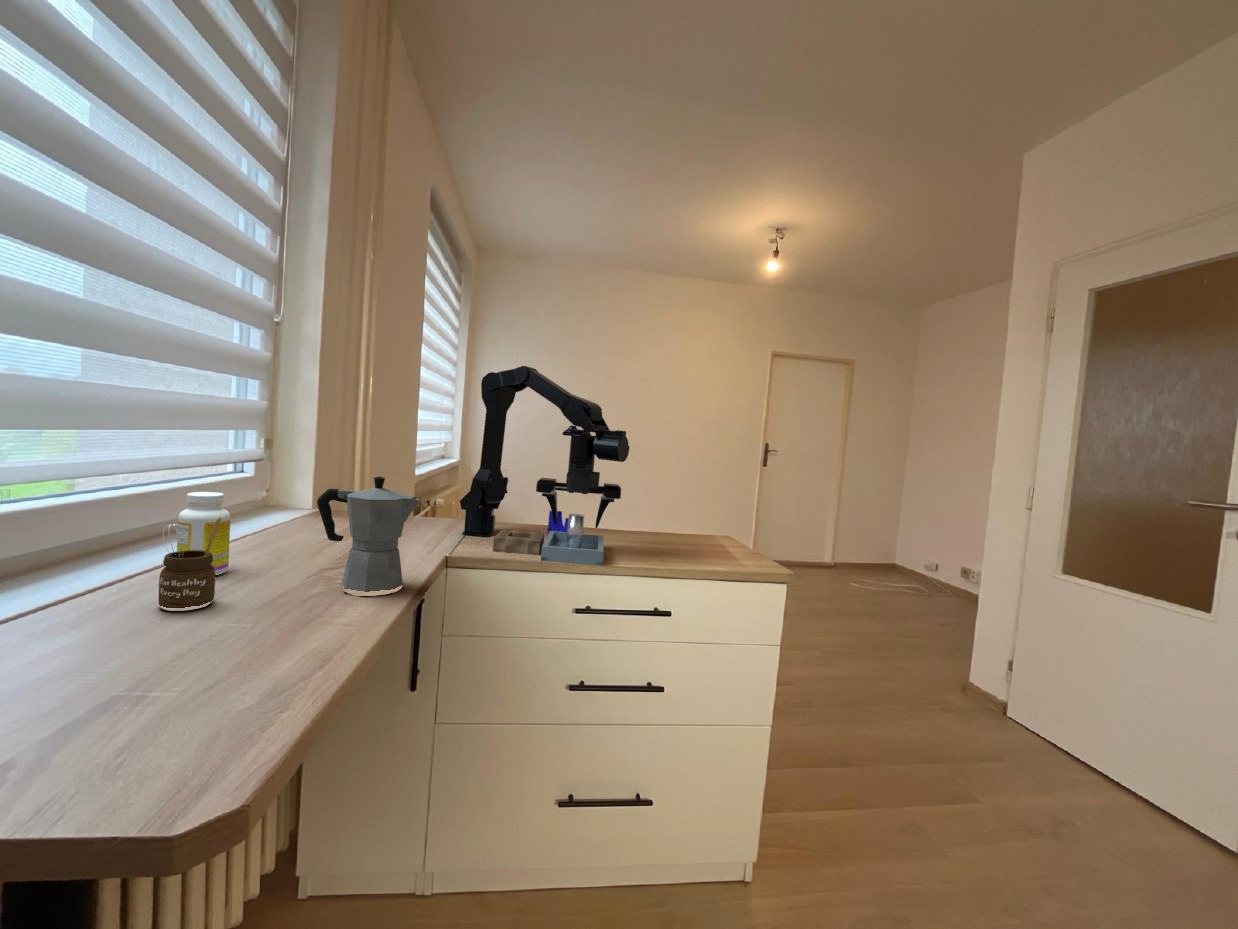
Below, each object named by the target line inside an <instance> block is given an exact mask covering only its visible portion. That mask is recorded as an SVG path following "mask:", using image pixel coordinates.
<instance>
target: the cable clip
mask: <svg viewBox="0 0 1238 929" xmlns="http://www.w3.org/2000/svg"><path fill="white" fill-rule="evenodd" d="M568 519H569V517H565V519H564V523H563V511H560V510H557V524H556V525H555V524H554V519H553V515H552V511H551V510H549V512H548V523H547V534H549V532H550V531H558V532H567V529H568Z"/></svg>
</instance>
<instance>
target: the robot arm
mask: <svg viewBox="0 0 1238 929" xmlns="http://www.w3.org/2000/svg"><path fill="white" fill-rule="evenodd" d="M480 384H481V385H480V386H481V389H480V390H481V399H482V401H483V405H484V407H485V418H484V429H483V436H482V437H483V438H482V446H481V456H480V465H479V469H477V472H476V473H475V475H474V476H473V478H472V480H471V484H470V489H469V491H468V492H467V493H466V494H465V495H464V496H463V497H462V498H461V499H460V500H459V503H460V504H459V505H460V509H461V510H464V511H465V515H464V516H465V517H464V518H465V519H464V530H463V531H462V532H461V533H462V534H461V535H464V536H474V537H475V536H477V537H488V538H489V537H490V536H491V535H492V534H493V533H494V532H495V527H496V515H494V510H498V509H499V508H500V504H501V502H502V501H503V500H504V499H505V496H506V494H508V483H509V477H508V476H507V477H506V476H505V477H504V475H503V473H502V469H501V468H502V467H501V466H502V459H503V448H504V442H505V441H504V440H505V431H506V422H507V413H508V411H509V409H510V408H511V406H512V405H513V403H514V401H515V398H516V393H520V392H522V391H524V390H525V389H527V388H530V389H531V390H533V391H534V392H536V393H537V394H538V395H540V396H541V397H542V398H545V399H546V400H547V401H548V402H550V403H551V404H553V405H554V406H555V407H557V408H558V409H559V410H560V411H561V414H562V415H563V416H564V417H565V418H566V419H567V420H568V421H569V423H570V424H572V425H569V427H568V428H567V429H565V430H563V432H562V435H563V436H568V437H569V436H570V443H569V444H570V446H569V457H568V468H567V473H566V479H565V482H557V478H551V477H541V478H540V479H539V480H536V481H537V482H536V487H535V491H536V493H541V497H545V498H546V499H547V502H548V503H549V507H550V511H552V515H553V519H554V524H555V525H556V524H557V511H558V492H557V491H560V492H568V493H570V494H574V493H575V494H582V495H588V494H596V495H601V497H600V501H599V504H598V505H599V506H598V509H597V513H596V514H597V515H596V520H595V527H594V528H595V529H598V527H599V524H600V522H601V520H602V517H603V515H604V512H605V511H606V509H607V507H608V505H609V504H610V503H615V499H616V500H620V499H621V497H622V487H621V486H620V484H618V483H608V482H606V483H605V482H604V483H603V485H600V474H601V472H600V471H594V470H595V460H596V459H598V460H603V461H610V462H619V463H624V462H625V461H626V460H627V459H628V456H629V453H630V445H629V440H628V437H627V431H626V430H618V429H617V430H610V428H609V426H608V424H607V422H606V421H605V419H604V417H603V409H602V407H601V406H600V405H599V404H598V403H595V402H593V401H591V400H589V399H586V398H583V397H580V396H577V395H574V394H572V393H571V392H569V391H568V390H566V389H565V388H563V387H561V386H560V385H559V384H557V383H556V382H554V381H552V380H551V379H550V378H548V377H547V376H545V375H543V374H542V373H540V372H539V371H538V370H537V369H536V368H535V367H531V366H527V365H521V366H517V367H516V368H513V369H512V368H511V369H506V370H501V371H497V372H493V371H492V372H491V371H490V372H488V373H486V374H485V375H484V376H482V379H481V383H480ZM577 427H578V428H582V429H578V428H577ZM592 433H595V435H592ZM595 457H596V459H595Z"/></svg>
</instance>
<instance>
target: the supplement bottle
mask: <svg viewBox="0 0 1238 929" xmlns="http://www.w3.org/2000/svg"><path fill="white" fill-rule="evenodd" d="M224 496H225V494H224V493H222V492H215V491H213V492H212V491H198V492H188V493H187V494H186V502H187V508H185V509H184V510H181V512H180V513H179V514H178V516H177V524H178V525H180V526H181V527H182V528H181V527H180V526H178V525H177V530H178V532H176V536H177V534H179V536H177V537H176V539H177V540H176V552H177V551H180V546H181V551H183V550H184V548H185V550H184V551H186V550H203V551H206V549H207V547H208V544H209V538H210V535H211V533H212V530H213V528H214V525H215V523H216V520H217V519H218V518H220V517H222V518H221V521H220V524H219V527H218V531H217V534H216V537H215V539H214V540H213V542H212V544H211V547H210V550H209V552H211V553H212V555H213V562H212V563H211V565H212V566H213V567H214V569H215V575H216V574H220V573H223V572H225V573H227V572H228V570H229V564H230V563H229V560H230V542H231V541H230V538H231V536H230V535H231V534H230V533H231V513H230V511H228V510H227V509H225V508H223V502H224V501H225V500H224V499H225V498H224ZM182 529H183V531H184V534H183V531H182ZM184 535H185V540H186V545H185V547H184V543H185V540H184ZM178 539H180V541H179V542H178ZM226 571H227V572H226Z"/></svg>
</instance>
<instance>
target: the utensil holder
mask: <svg viewBox="0 0 1238 929" xmlns="http://www.w3.org/2000/svg"><path fill="white" fill-rule="evenodd" d="M221 518H222V517H220V518H218V519H217V520H216V523H215V525H214V528H213V530H212V533H211V535H210V538H209V544H208V547H207V549H206V551H203V550H186V551H184V550H185V548H184V550H183V551H181V546H180V551H177V550H176V551H175V550H174V547H173V543H172V538H171V532H170V530H171V526H174V528H175V530H176V536H179V534H177V532H178V526H180V525H178V523H170V524H168V525H166V526H165V527H164V528H163V530H162V539H163V540H162V541H163V544H164V546H165V548H166V550H167V552H168V553H166V554H165V555H164V559H163V561H162V562H163V565H164V567H163V568H162V570H161V571H160V574H159V578H158V579H159V581H158V606H159V605H160V606H163V607H166V608H185V607H191V606H200V605H203V604H206V603H208V602H211V601H212V600H213V599H214V598H215V591H216V589H215V588H216V576H215V569H214V567H213V566H212V565H211V563H212V562H213V555H212V553H211V552H209V550H210V547H211V544H212V542H213V540H214V539H215V537H216V534H217V531H218V527H219V524H220V521H221ZM176 526H177V527H176ZM180 527H181V526H180ZM166 528H167V529H168V530H167V533H168V539H169V543H170V546H171V550H172V552H170V551H169V550H168V548H167V545H166V541H165V535H164V534H165V533H164V532H165V530H166ZM181 528H182V527H181ZM182 531H183V529H182ZM183 534H184V531H183ZM184 540H185V535H184ZM179 541H180V539H178V542H179ZM185 545H186V540H185V543H184V547H185ZM213 601H214V600H213Z"/></svg>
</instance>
